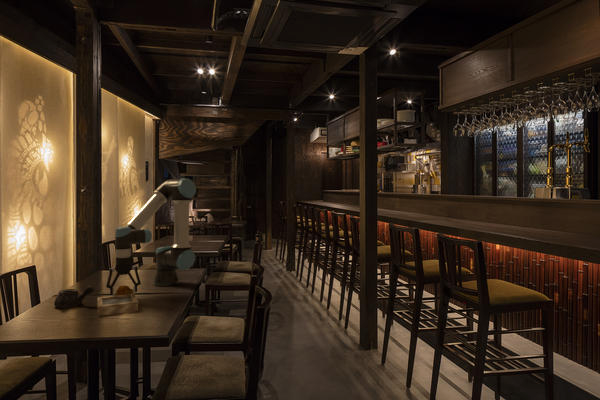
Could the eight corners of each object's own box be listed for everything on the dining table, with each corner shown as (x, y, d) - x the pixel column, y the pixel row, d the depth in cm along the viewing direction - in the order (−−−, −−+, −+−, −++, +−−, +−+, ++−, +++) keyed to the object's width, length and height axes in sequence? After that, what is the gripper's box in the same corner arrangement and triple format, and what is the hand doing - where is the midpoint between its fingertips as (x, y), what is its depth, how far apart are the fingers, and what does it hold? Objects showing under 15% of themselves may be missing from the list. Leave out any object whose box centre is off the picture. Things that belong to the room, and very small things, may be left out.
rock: (113, 308, 215) (117, 291, 222) (130, 309, 217) (133, 292, 224) (114, 297, 207) (118, 280, 214) (131, 298, 210) (134, 281, 217)
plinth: (134, 301, 211) (134, 293, 211) (138, 310, 194) (137, 302, 194) (97, 306, 204) (97, 297, 204) (98, 315, 187) (97, 306, 187)
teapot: (46, 311, 195) (46, 290, 195) (60, 303, 210) (60, 283, 210) (89, 309, 198) (88, 288, 198) (99, 301, 213) (99, 282, 213)
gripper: (144, 254, 223) (145, 295, 223) (100, 257, 213) (100, 300, 213) (146, 256, 216) (146, 298, 216) (100, 259, 206) (100, 303, 207)
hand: (123, 299), depth 215 cm, fingers open, 9 cm apart
